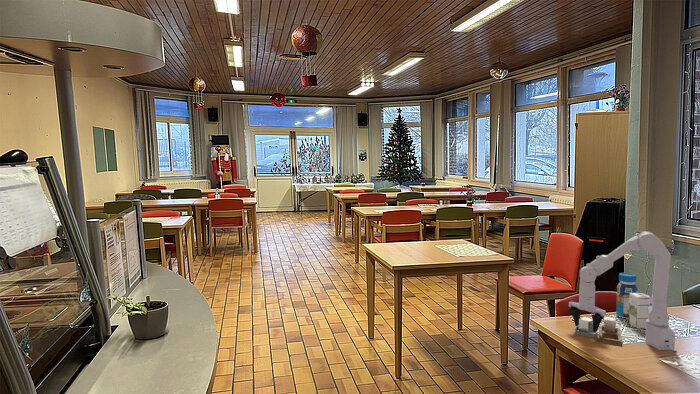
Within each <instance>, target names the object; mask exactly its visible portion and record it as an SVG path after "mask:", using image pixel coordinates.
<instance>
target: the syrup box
mask: <svg viewBox="0 0 700 394" xmlns="http://www.w3.org/2000/svg"><path fill="white" fill-rule="evenodd" d="M650 299H651V296H650V295H648V294H645V293H643V292H637V293H630V298H629V319H628V324H629V325H631V326H633V327H634V328H635V329H646V320H647V319H648V317H649V315H648V314H647V311H646V310H647V307H648V305H649V304H650Z"/></svg>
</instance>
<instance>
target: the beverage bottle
mask: <svg viewBox="0 0 700 394" xmlns="http://www.w3.org/2000/svg"><path fill="white" fill-rule="evenodd" d="M618 280H619V282H618V284H617V285H616V292H615V294H616V307H615V308H616V311H615V315H616V316H617V317H618V316H619V318H621V317H622V319H624V318H626V320H629V298H630V293H638V291H639V290H638V287H637V285H636V282H637V275H636V274H634V273H629V272H619V274H618Z"/></svg>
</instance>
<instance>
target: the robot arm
mask: <svg viewBox="0 0 700 394" xmlns="http://www.w3.org/2000/svg"><path fill="white" fill-rule="evenodd" d="M641 249H643V250H645V251H646V252H649V253H650V254H651V255H652V256H653V257H654V258H655V259H654V267H653V268H654V270H653V276H652V277H653V279H652V288H651V296H650V304H649V305H648V307H647V310H646V311H647V314H648V315H649V317H648V319H647V320H646V328H645V338H644V339H645V342H644V343H645V344H647V345H648V346H651V347H653V348H655V349H657V350H658V351H661V350H662V351H663V350H664V351H673V352H677V351H678V350H677V349H676V348H675V342H676V334H675V332H674V331H673V330H672V329H671V327H670V324H669V321H670V315H669V313H668V304H667V301H668V300H667V298H668V290H669V289H668V288H669V279H670V269H671V259H672V255H671V253H670V251H669V250H668V248H667V247H666V246H665V244H664V242H663V241H662V240H661V239H660V238H659V237H658V235H656V234H654V233H653V232H651V231H648V230H647V231H644V230H643V231H641V232H640V233H638V235H633V236H632V237H631V238H629V239H627V240H626V241H624V242H623V243H622V244H620V245H619V246H618V247H617V248H615V249H614V250H612V251H611V252H610V253H608V254H601V255H598V254H597V256H596V257H595V259H594V260H592V261H591V262H590V263H586V264H585V265H586V266H583V267H581V268H580V269H579V277H580V279H579V288H578V289H579V291H578V292H579V293H578V302H575V301H569V302H568V307H569V312H570V313H571V316H572V318H573V322H574V326H575V327H576V326H579V319H580V318H581V315H582V314H581V313H582V311H586V312H589V313H592V314H591V319H592V320H593V331H594V333H596V331H597V332H599V325H601V322H602V321H603V320H604V317H606V315H607V311H606V310H604V309H602V308H599V307H598V306H596V285H595V282H596V281H595V280H596V279H597V277H599V276H601V275H602V274H603V273H605V272H607V271H609V270H610V269H611V268H613V267H614V262H615V261H617V260H619V259H621V258H622V257H623V256H625V255H627V254H628V253H630V252H632V251H641Z"/></svg>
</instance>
